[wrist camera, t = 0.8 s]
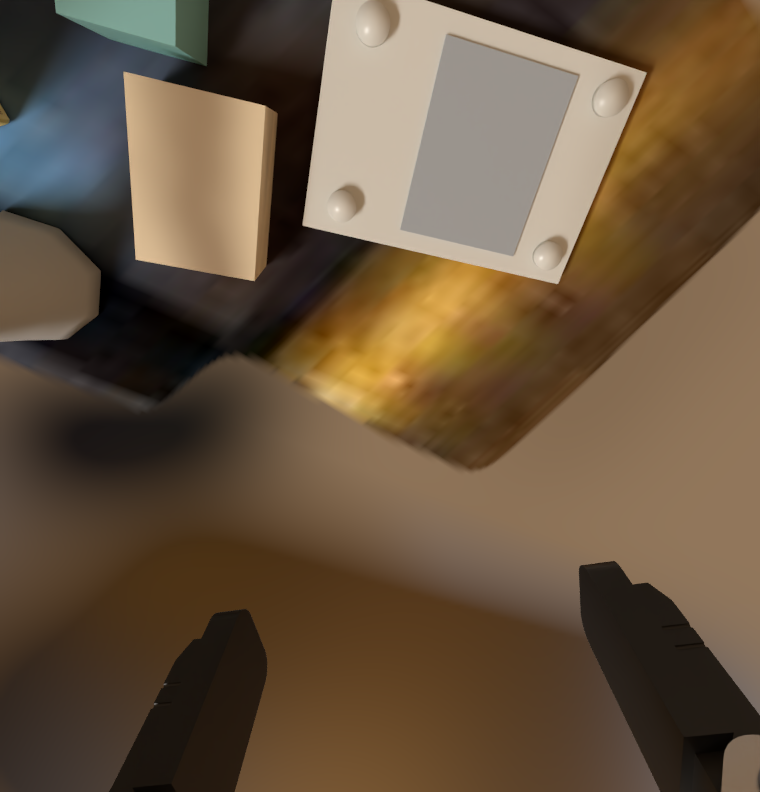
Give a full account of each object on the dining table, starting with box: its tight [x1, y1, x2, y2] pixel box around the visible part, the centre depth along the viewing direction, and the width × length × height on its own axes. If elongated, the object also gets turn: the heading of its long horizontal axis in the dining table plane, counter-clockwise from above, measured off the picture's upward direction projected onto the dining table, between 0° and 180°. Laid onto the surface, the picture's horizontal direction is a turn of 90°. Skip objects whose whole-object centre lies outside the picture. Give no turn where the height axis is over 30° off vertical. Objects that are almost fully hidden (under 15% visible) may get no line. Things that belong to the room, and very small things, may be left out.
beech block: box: [124, 72, 278, 281], centre depth 23 cm, size 6×8×4 cm
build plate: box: [302, 0, 647, 284], centre depth 23 cm, size 16×11×2 cm
